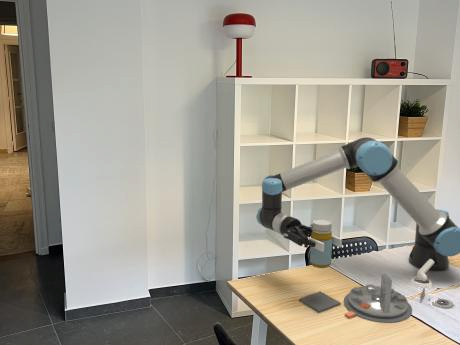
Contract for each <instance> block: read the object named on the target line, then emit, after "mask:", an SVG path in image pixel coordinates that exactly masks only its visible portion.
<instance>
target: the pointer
mask: <svg viewBox="0 0 460 345" xmlns="http://www.w3.org/2000/svg"><path fill="white" fill-rule="evenodd" d="M344 317H345V318H347V319H348V320H350V319H353V318H355V317H357V316H356V313H354V312H352V311H347V312H345V313H344Z"/></svg>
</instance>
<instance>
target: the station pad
mask: <svg viewBox="0 0 460 345" xmlns="http://www.w3.org/2000/svg"><path fill="white" fill-rule="evenodd" d="M298 301H299V302H300V303H301V304H303V305H306V306H307V307H309V309H312V310H313V311H315V312H317V313H318V314H320V313H322V312H326V311H329V310H331V309H333V308H336V307H339V306H341V305H342V302H340V301H339V300H337V299H335V298H334V297H332V296H329V295H328V294H326V293H325V292H323V291H320V290H319V291H316V292H313V293H312V294H309V295H306V296H302V297H300V298H299V299H298Z"/></svg>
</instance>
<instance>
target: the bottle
mask: <svg viewBox="0 0 460 345" xmlns="http://www.w3.org/2000/svg"><path fill="white" fill-rule="evenodd" d="M312 224H313V229H312V230H313V231H312V233H311V237H310V238H313V239H315V240H318V241H320V242H322V243H325V244H324V252H322V251H319V250H317V249H315V248H313V247H311V246H309V247H310V252H309V264H310V265H311V266H313V267H314V268H317V269H325V268H326V269H327V268H329V267H330V266H331V265H332V255H333V254H332V252H333V251H332V249H333V248H332V247H333V244H332V235H333V234H331V231H332V221H330V220H328V219H322V218H321V219H318V218H317V219H313V221H312Z"/></svg>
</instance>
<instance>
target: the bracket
mask: <svg viewBox="0 0 460 345" xmlns="http://www.w3.org/2000/svg"><path fill="white" fill-rule="evenodd" d="M425 290H426V289H425V288H423V289H422V290H421V293H420V296H419V297H420V299H419V300H420V302H419V303H420V304H422V302H423V300H424V298H425V296H426V291H425ZM437 298H438V300H437V301H435V303H434V302H432V305H433V307H435V306H436V308H440V307H441V308H442V309H450V308H453V307H454V306H455V304H454V302H453V301H451V300H449V299H446V298H441V297H437ZM441 302H443V303H441Z"/></svg>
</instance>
